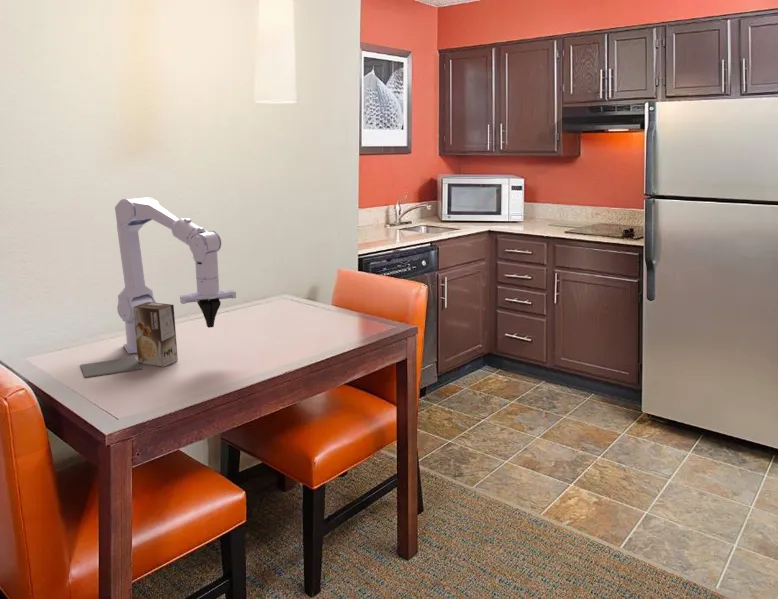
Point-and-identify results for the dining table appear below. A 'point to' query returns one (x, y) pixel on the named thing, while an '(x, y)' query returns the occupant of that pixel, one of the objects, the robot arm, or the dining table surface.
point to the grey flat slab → (110, 367)
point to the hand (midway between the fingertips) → (210, 326)
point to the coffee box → (155, 334)
